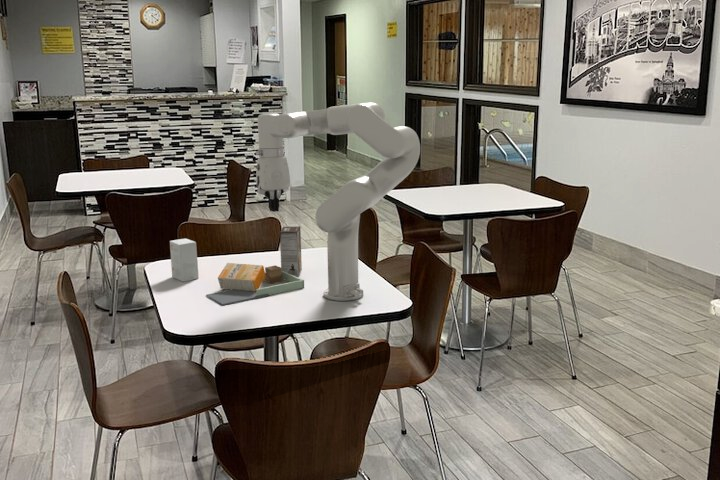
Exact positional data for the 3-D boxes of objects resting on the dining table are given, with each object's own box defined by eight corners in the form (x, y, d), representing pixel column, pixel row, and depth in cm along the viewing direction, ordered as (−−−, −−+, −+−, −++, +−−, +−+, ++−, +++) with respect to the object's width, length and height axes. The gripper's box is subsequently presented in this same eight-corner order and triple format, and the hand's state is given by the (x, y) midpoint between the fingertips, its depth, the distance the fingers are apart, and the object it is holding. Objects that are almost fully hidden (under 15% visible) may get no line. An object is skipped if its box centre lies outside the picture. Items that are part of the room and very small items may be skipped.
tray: (304, 287, 234) (303, 280, 234) (257, 297, 225) (257, 289, 224) (281, 277, 246) (280, 270, 246) (235, 286, 237) (235, 278, 236)
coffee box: (284, 270, 256) (282, 226, 252) (302, 269, 255) (300, 226, 252) (281, 277, 247) (279, 231, 243) (299, 277, 246) (298, 231, 243)
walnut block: (281, 282, 241) (281, 267, 240) (271, 284, 239) (271, 269, 238) (276, 279, 244) (275, 265, 243) (265, 281, 242) (265, 267, 241)
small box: (199, 278, 246) (196, 241, 243) (182, 282, 242) (179, 244, 239) (188, 273, 252) (186, 237, 249) (171, 277, 248) (168, 240, 245)
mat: (269, 295, 226) (268, 294, 226) (222, 305, 217) (222, 304, 217) (251, 287, 235) (251, 285, 235) (206, 296, 226) (206, 294, 226)
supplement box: (254, 280, 226) (216, 277, 230) (257, 291, 229) (220, 289, 232) (263, 264, 233) (226, 262, 236) (266, 275, 235) (229, 273, 239)
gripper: (255, 156, 217) (258, 215, 221) (298, 152, 225) (300, 209, 229) (244, 154, 223) (247, 212, 227) (286, 150, 231) (288, 206, 235)
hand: (274, 210), depth 228 cm, fingers closed
